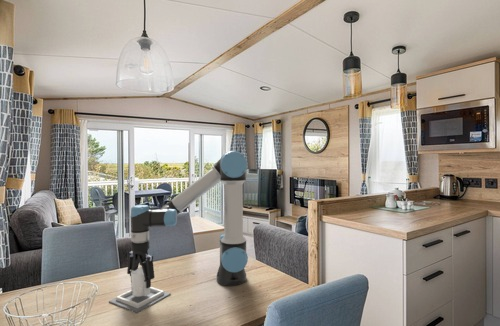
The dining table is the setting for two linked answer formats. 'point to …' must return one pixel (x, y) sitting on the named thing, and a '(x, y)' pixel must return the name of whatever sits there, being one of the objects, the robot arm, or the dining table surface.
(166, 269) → the dining table surface
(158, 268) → the dining table surface
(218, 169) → the robot arm
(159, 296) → the holder
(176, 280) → the dining table surface
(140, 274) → the white cup
